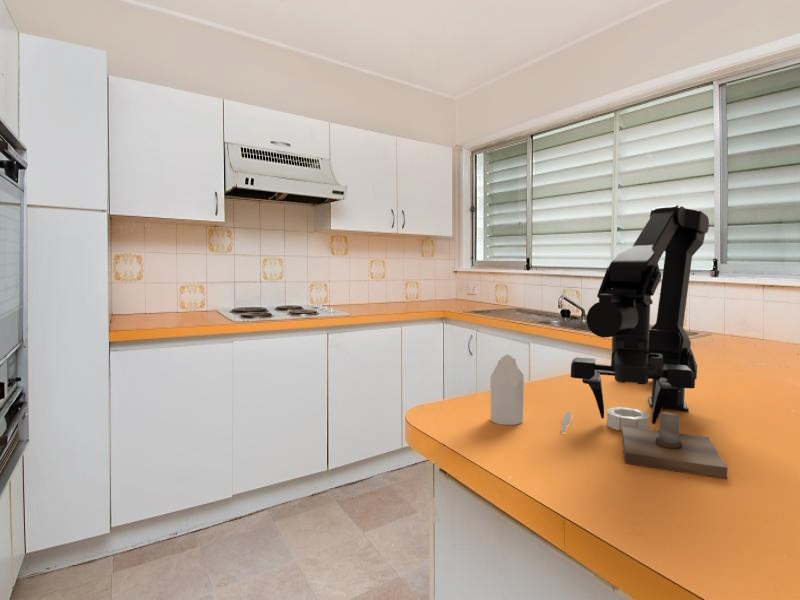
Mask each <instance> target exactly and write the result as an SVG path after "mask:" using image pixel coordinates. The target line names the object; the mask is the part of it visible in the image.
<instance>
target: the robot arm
mask: <svg viewBox="0 0 800 600" xmlns="http://www.w3.org/2000/svg"><path fill="white" fill-rule="evenodd" d="M709 227H710V218H709V217H708V215H707V214H706V213H704V212H703V211H701V210H700V209H698V210H697V209H690V208H686V207H684V206H682V205H666V206H665V205H664V206H656V207H655V208H652V209H651V211H650V215H649V219H648V220H647V222H646V223H645V225H644V227H643V228H642V230H641V232H640V234H639V235H638V236H637V239H636V240H635V242H634V243H633V245H632V246H631V247H630V248H629V249H627V250H624V251H622V252H620V253H618V255H617V256H616V257H615V258H614V259H613V260H612V261H611V262H610V264H609V266H607V268H606V271H605V274H604V276H603V278H602V281H601V284H600V286H599V289H598V292H597V296H596V297H597V298H598V302H595V303H594V304H593V305H591V307H590V308H589V309H588V312H587V314H586V318H585V320H586V325H587V327H588V329H589V330H590V331H591V333H592V334H594V335H595V336H597V337H600V338H604V339H605V338H610V337H611V354H610V355H611V359H610V364H604V363H596V358H589V357H578V356H577V357H574V358H573V359H572V361H571V364H570V378H573V379H582V383H583V384H585V385H588V386H589V388H590V389H591V391H592V393H593V396H594V398H595V401H596V405H597V408H598V411H599V412H598V413H599V415H600V417H601V419H604V417H605V404H604V394H603V385H602V379H601V377H602V376H601V375H603V376H611V377H613V376H614V380H615V382H617V383H620V384H621V383H622V384H625V383H633V384H638V385H646V384H648V383H649V380H651V396H647V401H648V404H649V406H650V407H651V408H652V411H651V424H652V425H656V423H657V421H658V418H659V416H660V415H661V413H662V409H666V410H667V409H668V410H677V411H689V409H690V408H689V406H688V404H687V403H686V401H685V393H686V392H685V389H690V390H691V389H695V388H696V387H695V386H696V380H697V378H698V377H697V375H698V364H697V361H696V358H695V357H694V353H693V351H692V349H691V346H692V345H691V344H692V342H691V339H690V337H689V336H688V333H687V332H686V330H685V328H684V324H685V323H684V322H685V314H686V307H687V306H686V305H687V298H688V291H689V283H690V278H691V277H690V276H691V268H692V261H693V256H694V255H695V254H696V252H698V250H699V249H700V248H701V247H702V246H703V245H704V242H705V236H706V234H707V233H708V232H709ZM664 253H665V254H664ZM663 254H664V262H663V269H662V272H661V269H660V267H659V262H660V259H661V257H662V256H663ZM660 282H661V285H660V291H659V299H658V307H657V316H656V322H655V323H654V324H653V326H652V327H651V328H650V323H651V305H653V303H654V302H653V299H652V298H651V297H652V296H654V294H656V293H655V292H656V290H657V288H658V285H659V284H660Z"/></svg>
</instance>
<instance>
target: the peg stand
mask: <svg viewBox="0 0 800 600" xmlns="http://www.w3.org/2000/svg"><path fill="white" fill-rule="evenodd" d="M659 416H660V419H659V430H657V429H655V430H654V429H649V430H648V429H640V428H632V427H624V426H622V432H621V438H622V439H621V440H622V447H623V448H624V449H623V448H622V449H623V455H624V457H625V458H624V463H625V464H627V463H628V465H634V466H639V467H641V466H642V467H648V468H655V469H659V470H660V469H661V470H666V471H667V470H668V471H672V470H673V472H680V473H686V474H687V473H688V474H691V475H692V474H693V475H698V474H699V476H706V477H711V476H712V477H713V478H719V479H725V480H727V479H728V466H727V464H726V463H725V461H724V460H723V458H722V457H721V454H720V453H719V452H718V450H717V449H716V447H715V445H714V443H713V442H712V441H711V439H710V438H709V436H703V435H695V434H688V433H681V432H680V415H679V414H677V413H674V412H667V411H666V412H660V414H659ZM712 477H711V478H712Z"/></svg>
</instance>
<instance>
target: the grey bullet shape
mask: <svg viewBox="0 0 800 600" xmlns="http://www.w3.org/2000/svg"><path fill="white" fill-rule="evenodd" d="M524 385H525V382H524V374H523V372H522V370H521V369H520V368H519V365H518V364H517V361H516V358H515V357H513V356H512V355H510V354H505V355H504V356H502V357H500V359H499V360H498V362H497V364H496V366H495V367H494V369H493V371H492V373H491V374H490V386H489V387H490V421H491V422H492V423H493V424H494V423H495V424H497V425H503V426H516V425H520V424H521V423H523V422H524V391H525V390H524Z"/></svg>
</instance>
